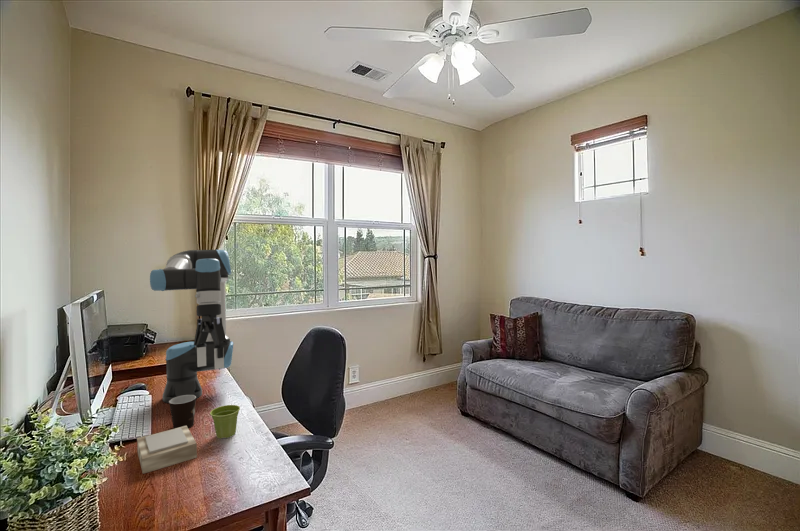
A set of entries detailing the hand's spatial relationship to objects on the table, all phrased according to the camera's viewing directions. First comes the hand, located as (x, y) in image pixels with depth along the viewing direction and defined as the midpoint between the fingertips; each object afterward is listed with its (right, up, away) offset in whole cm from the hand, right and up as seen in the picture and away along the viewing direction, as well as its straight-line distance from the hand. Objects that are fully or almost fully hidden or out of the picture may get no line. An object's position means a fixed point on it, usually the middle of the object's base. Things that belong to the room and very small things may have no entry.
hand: (210, 367), depth 131 cm
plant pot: (+4, -25, +4) cm, 25 cm away
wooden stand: (-9, -25, -9) cm, 28 cm away
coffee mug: (-15, -24, +12) cm, 31 cm away
